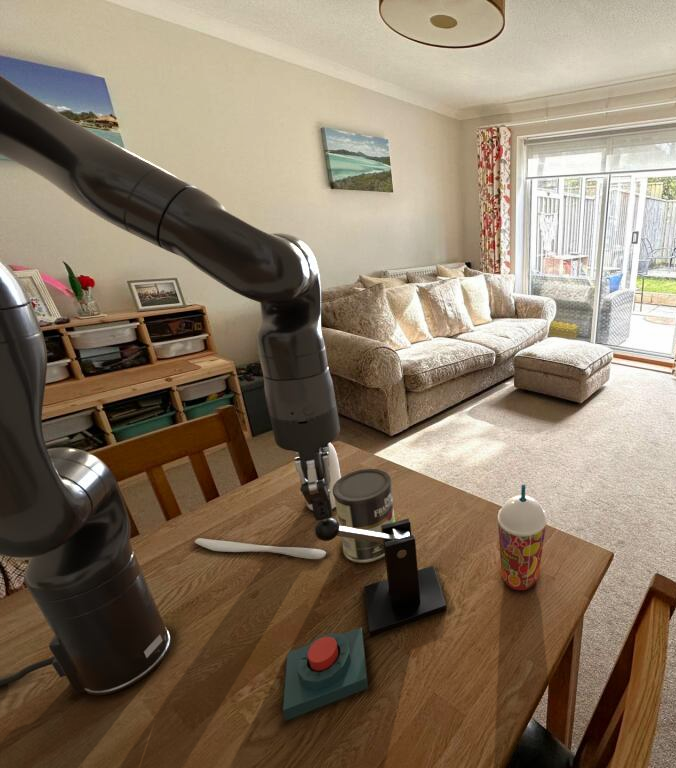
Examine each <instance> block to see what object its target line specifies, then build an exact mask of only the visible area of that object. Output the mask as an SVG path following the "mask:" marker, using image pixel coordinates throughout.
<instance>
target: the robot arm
mask: <svg viewBox="0 0 676 768" xmlns="http://www.w3.org/2000/svg"><path fill="white" fill-rule="evenodd" d="M0 156H2V157H4V158H6V159H8V160H10V161H12V162H15V163H16V164H18V165H21V166H22V167H24V168H27V169H28V170H30V171H32V172H33V173H35V174H37V175H39V176H41V177H42V178H44V179H45V180H47V181H48V182H49V183H51V184H52V185H54V186H55V187H56V188H58V189H59V190H61V191H62V192H63V193H64V194H66V195H67V196H69V198H70V199H72V200H73V201H75V202H76V203H78V204H79V205H81V206H82V207H83V208H85V209H86V210H87V211H89V212H91V213H93V214H94V215H96V217H99V218H101V219H103V220H104V221H106V222H108V223H110V224H111V225H113V226H116V227H118V228H119V229H122V230H124V231H126V232H128V233H130V234H131V235H134V236H135V237H137V238H140V239H142V240H144V241H146V242H148V243H150V244H153V245H154V246H156V247H159V248H161V249H163V250H165V251H167V252H169V253H171V254H174V255H176V256H179V257H181V258H183V259H185V260H186V261H187V262H189V263H190V264H191V265H192V266H193V267H195V268H197V269H198V270H200V271H201V272H203V274H206V275H207V276H209V277H210V278H212V279H213V280H215V282H217V283H219V284H221V285H222V286H224V287H226V288H227V289H229V290H231V291H232V292H234V293H236V294H238V295H239V296H242V297H244V298H247V299H249V300H251V301H254V302H257V303H259V304H260V312H261V320H260V324H259V326H258V328H257V329H256V335H255V343H256V349H257V354H258V358H259V363H260V368H261V372H262V377H263V390H264V396H265V403H266V406H267V411H268V416H269V419H270V424H271V429H272V433H273V438H274V441H275V444H276V445H277V446H278V447H279V448H280V449H282V450H286V451H289V452H290V451H291V452H295V456H296V457H294V467H295V471H296V472H297V473H298V474H299V479H300V484H301V486H300V492H301V493H302V495H303V497H304V499H305V502H306V501H307V503H308V505H310V504H312V507H313V510H312V511H313V516H314V520H315V521H317V522H319V521H320V520H324V519H328V518H333V509H332V505H331V500H330V490H329V487H330V482H331V477H330V459H329V445H328V443H332V442H333V441H335V439H337V437H338V436H339V435H340V431H341V426H340V419H339V413H338V407H337V400H336V394H335V388H334V381H333V379H332V376H331V373H330V368H329V363H328V355H327V350H326V345H325V344H326V343H325V340H324V336H323V331H322V290H321V276H320V271H319V266H318V263H317V259H316V257H315V255H314V253H313V251H312V250H311V248H310V247H309V246H308V245H307V243H305V242H304V241H303V240H301V239H300V238H298V237H296V236H294V235H292V234H288V233H283V232H280V233H279V232H273V233H268V232H266V231H263V230H261V229H259V228H257V227H255V226H253V225H251V224H249V223H248V222H246V221H244V220H242V219H241V218H239V217H238V216H236V215H233V214H232V213H230V212H228V211H227V210H226V208H225V207H224V205H223V203H221V202H220V201H218V200H217V199H216V198H215V197H213V196H212V195H210V194H208V193H207V192H205V191H203V190H202V189H200V188H198V187H196V186H195V185H193V184H190V183H189V182H187V181H186V180H183V179H181V178H180V177H178V176H176V175H175V174H172V173H170V172H169V171H167V170H165V169H163V168H162V167H160V166H157V165H156V164H154V163H152V162H150V161H148V160H146V159H145V158H142V156H141V157H140V155H137V154H135V153H133V152H130V151H129V150H127V149H125V148H123V147H122V146H120V145H118V144H116V143H114V142H113V141H110V140H109V139H106V138H104V137H102V136H101V135H98V134H97V133H95V132H93V131H91V130H89V129H87V128H86V127H84V126H82V125H80V124H79V123H77V122H75V121H73V120H72V119H70V118H68V117H66V116H65V115H63V114H61V113H60V112H58V111H56V110H55V109H54V108H52V107H50V106H49V105H47V104H45V103H44V102H42V101H40V100H39V99H38V98H36V97H34V96H33V95H31V94H29V93H28V92H26V91H25V90H23V89H22V88H20V87H19V86H17V85H16V84H14V83H13V82H12V81H10V80H9V79H7V78H6V77H5V76H3V75H1V74H0ZM47 372H48V350H47V345H46V341H45V337H44V333H43V330H42V328H41V325H40V323H39V319H38V317H37V314H36V311H35V308H34V306H33V303H32V299H31V298H30V295H29V293H28V291H27V289H26V287H25V285H24V283H23V282H22V280H21V279H20V277H19V276H18V274H16V273H15V271H14V270H13V269H12V267H10V266H9V264H7V262H5V260H4V259H3V258H2V257H0V555H1V556H5V557H9V558H19V559H27V558H28V561H27V565H26V567H25V570H24V574H23V579H24V583H25V586H26V588H27V589H28V591H29V593H30V595H31V596H32V598H33V600H34V601H35V603H36V605H37V606H38V608H39V610H40V612H41V614H42V616H43V617H44V619H45V620H46V623H47V624H48V626H49V627H50V629H51V631H52V632H53V637H52V638H51V640H50V641H49V643H48V649H49V650H50V652H51V653H52V656H51V657H47V658H45V659H42V660H40V661H37V662H35V663H31V664H30V665H28V666H27V665H26V666H25V667H23V668H22V669H21V670H20V671H19V672H16V673H14V674H12V675H9V676H7V677H3V678H0V687H2V686H6V685H8V684H12V683H14V682H16V681H19V680H21V679H23V678H24V677H25V676H27V675H28V674H30V673H32V672H34V671H37V670H39V669H42V668H44V667H48V666H50V665H52V666H53V668H54V670H55V672H56V673H57V675H58V677H59V678H64V677H66V679H67V680H68V682H69V684H70V685H71V687H72V689H73V691H74V693H75V694H76V695H82V694H86V693H87V694H89V695H91V696H98V697H101V696H107V695H112V694H115V693H118V692H121V691H123V690H125V689H127V688H129V687H131V686H133V685H135V684H136V683H138V682H140V681H141V680H143V679H144V678H145V677H147V676H148V675H150V674H151V673H152V672H153V671H154V670H155V669H156V668H157V667H158V666H159V665H160V664H161V662H162V661H163V660H164V659H165V657H166V656H167V655H168V652H169V651H170V648H171V645H172V638H171V634H170V632H169V630H168V629H167V627H166V625H165V623H164V620H163V618H162V615H161V613H160V611H159V608H158V606H157V604H156V601H155V599H154V597H153V594H152V592H151V589H150V586H149V584H148V582H147V580H146V577H145V574H144V572H143V571H142V568H141V566H140V563H139V561H138V559H137V557H136V554H135V551H134V549H133V546H132V544H131V534H132V533H131V532H132V526H131V520H130V516H129V514H128V510H127V508H126V504H125V501H124V499H123V496H122V492H121V490H120V487H119V483H118V482H117V480H116V477H115V475H114V474H113V472H112V470H111V469H110V467H109V466H108V465H107V464H106V463H105V462H104V461H103V460H101V459H100V458H99V457H98V456H97V455H94V454H92V453H90V452H88V451H86V450H83V449H79V448H75V447H74V448H73V447H53V448H47V444H46V441H45V438H44V432H43V423H42V422H43V421H42V418H43V407H44V406H43V405H44V399H45V393H46V392H45V390H46V383H47V382H46V381H47ZM307 503H306V504H307Z"/></svg>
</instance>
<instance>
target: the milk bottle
mask: <svg viewBox="0 0 676 768" xmlns="http://www.w3.org/2000/svg"><path fill="white" fill-rule="evenodd" d="M328 445H329V459H330V477H331V482H330V487H329V490H330V500H331V505H332V510H333V509H336V504H335V497H334V495H333V486H334V484H335V483H336V482H337V481H338V480H339V479H340V478H341V477H342V476H341V475H342V474H341V470H340V463H339V459H338V454H337V451H336V448H335V447H334V445H333V444H332V442H330V443H328ZM305 502H306V507H307V508H308V509H309V510H311V511H313V507H312V504H310V505H308V503H307V501H306V500H305Z"/></svg>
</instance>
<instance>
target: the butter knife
mask: <svg viewBox="0 0 676 768" xmlns="http://www.w3.org/2000/svg"><path fill="white" fill-rule="evenodd" d="M194 544H196V545H199V546H201V547H203V548H204V549H205V548H206V549H208V550H211V551H213V552H227V553H244V552H260V553H261V552H263V553H264V552H267V553H274V554H281V555H286V556H290V557H295V558H301V559H302V558H303V559H307V560H308V559H310V560H320V559H324V558H325V557H326V555H327V552H326V550H323V549H319V548H311V547H310V548H309V547H295V546H294V547H291V546H272V545H260V544H253V543H247V542H246V543H244V542H236V541H229V540H220V539H219V540H218V539H210V538H209V539H208V538H202V537H201V538H200V537H198V538H196V539H195V540H194Z"/></svg>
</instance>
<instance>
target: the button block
mask: <svg viewBox="0 0 676 768" xmlns="http://www.w3.org/2000/svg"><path fill="white" fill-rule="evenodd" d="M323 637H332V638H334V639H335V640H336V643H337V648H338V657H337V659H336V661H335V662H334V664H333V665H332V666H330V667H329V668H327V669H325V670H323V671H315V670H313V669H312V668H311V667H310V663H309V659H308V651H309V648H310V647H311V645H312V644H313V643H314V642H315V641H317V640H318V639H320V638H323ZM366 663H367V662H366V653H365V643H364V633H363V628H362V627H359V628H356V629H352V630H349V631H347V632H343V633H341V634H338V633H327V634H324V635H321V636H318V637H316V638H315V639H314V640H312V641H311V642H310V643H309V644H307V645H306V646H302V647H299V648H296V649H294V650H290V651H288V652H287V653H286V664H285V678H284V689H283V690H284V691H283V703H282V713H283V716H284V719H285V721H289V720H292V719H294V718H296V717H299V716H301V715H304V714H307V713H309V712H311V711H314V710H316V709H319V708H322V707H324V706H327V705H329V704H332V703H334V702H335V703H336V702H337V701H339V700H342V699H344V698H348V697H350V696H352V695H354V694H355V695H356V694H357V693H360V692H362V691H365V690H367V689H368V688H369V683H368V673H367V672H368V671H367V664H366Z"/></svg>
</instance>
